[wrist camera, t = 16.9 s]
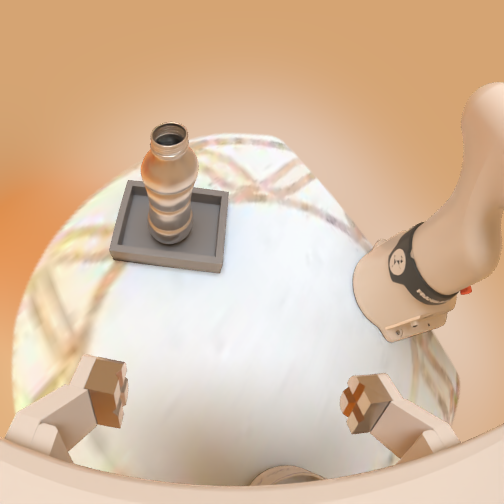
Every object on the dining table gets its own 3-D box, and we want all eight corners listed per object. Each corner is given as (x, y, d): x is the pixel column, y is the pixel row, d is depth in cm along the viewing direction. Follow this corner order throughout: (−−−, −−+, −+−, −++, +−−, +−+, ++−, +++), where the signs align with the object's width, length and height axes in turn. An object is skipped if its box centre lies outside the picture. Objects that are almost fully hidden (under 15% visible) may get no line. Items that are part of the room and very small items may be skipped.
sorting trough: (225, 204, 51) (228, 192, 47) (219, 273, 46) (222, 264, 43) (130, 192, 48) (127, 180, 45) (113, 259, 43) (109, 250, 40)
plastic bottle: (142, 221, 45) (126, 125, 27) (181, 204, 48) (186, 106, 30) (159, 256, 44) (149, 168, 26) (200, 236, 46) (215, 144, 28)
